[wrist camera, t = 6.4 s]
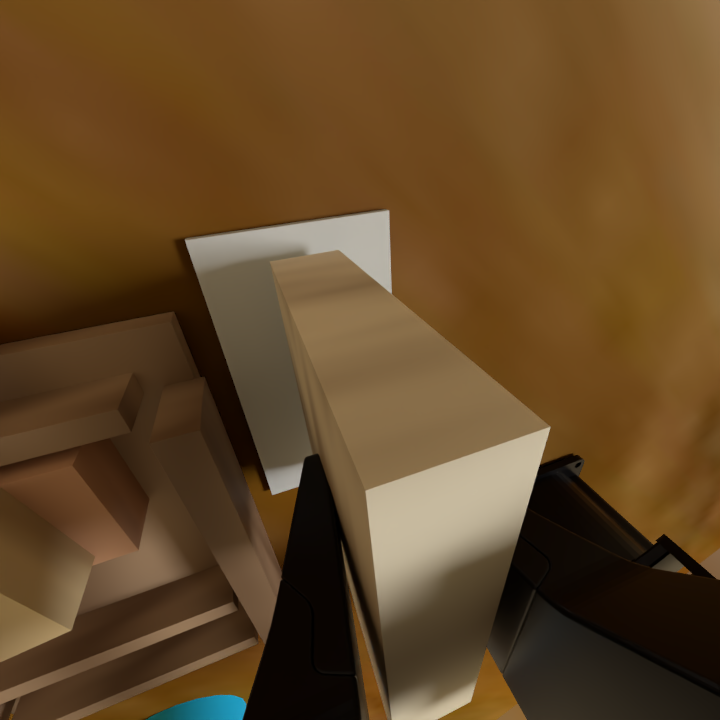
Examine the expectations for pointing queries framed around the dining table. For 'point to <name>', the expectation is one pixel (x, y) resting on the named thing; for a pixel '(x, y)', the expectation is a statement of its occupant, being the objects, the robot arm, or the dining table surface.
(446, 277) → the dining table surface
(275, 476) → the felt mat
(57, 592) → the offcut top
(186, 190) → the dining table surface
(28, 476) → the offcut low
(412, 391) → the block
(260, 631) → the rack
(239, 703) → the mug
